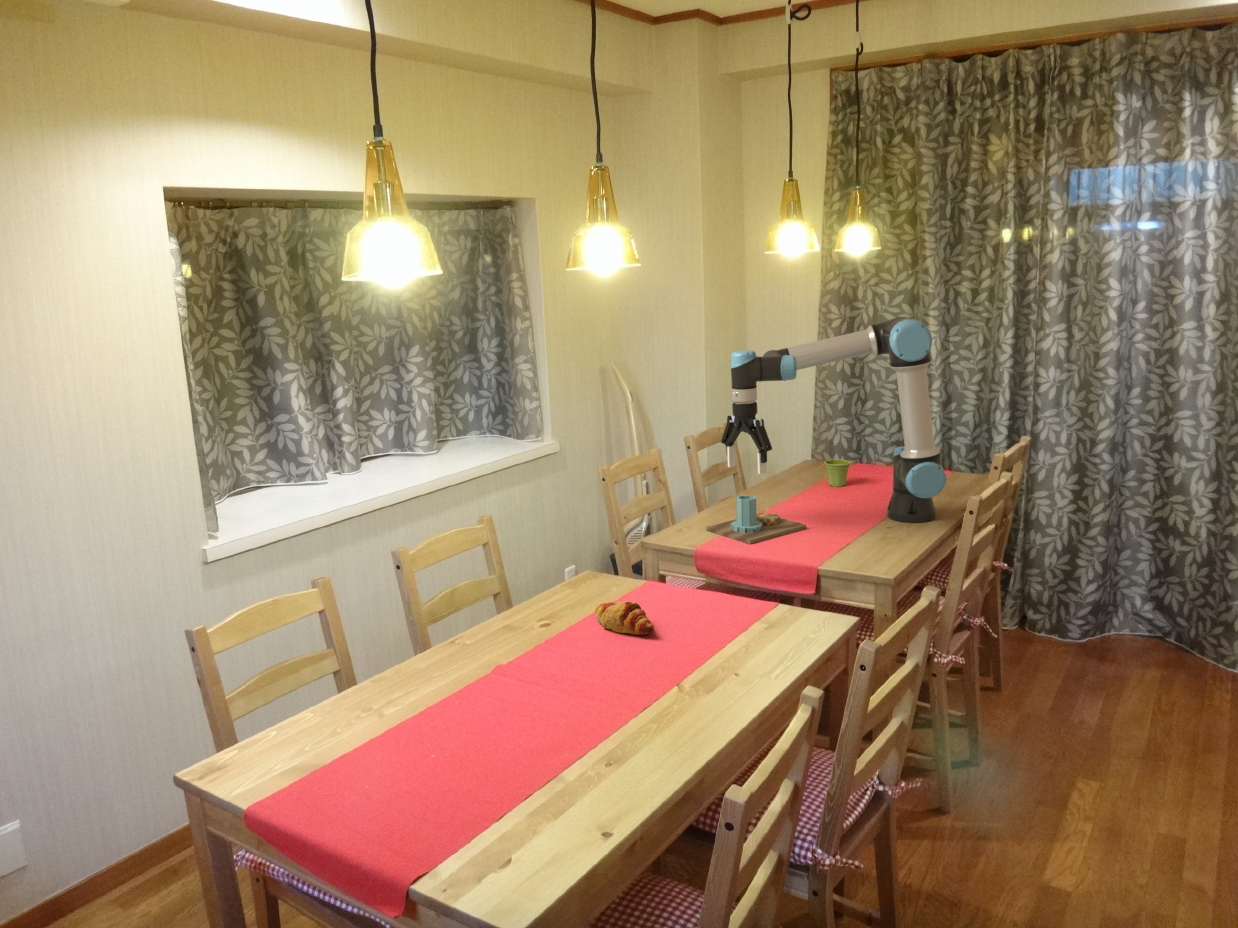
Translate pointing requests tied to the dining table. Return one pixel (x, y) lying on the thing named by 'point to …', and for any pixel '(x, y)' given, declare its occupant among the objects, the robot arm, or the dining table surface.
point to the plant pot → (837, 472)
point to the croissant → (624, 617)
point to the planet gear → (746, 515)
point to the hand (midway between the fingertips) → (746, 469)
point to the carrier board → (770, 529)
